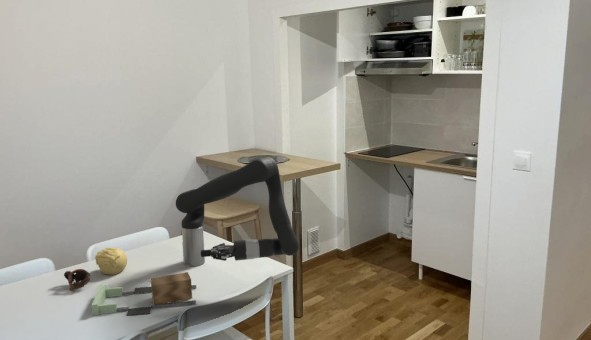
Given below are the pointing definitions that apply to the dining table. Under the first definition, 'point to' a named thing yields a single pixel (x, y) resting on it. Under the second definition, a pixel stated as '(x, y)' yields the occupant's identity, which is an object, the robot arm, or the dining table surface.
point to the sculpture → (111, 260)
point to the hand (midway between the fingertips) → (200, 253)
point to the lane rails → (159, 304)
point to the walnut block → (171, 288)
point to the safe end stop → (100, 298)
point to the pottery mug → (77, 278)
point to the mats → (141, 309)
